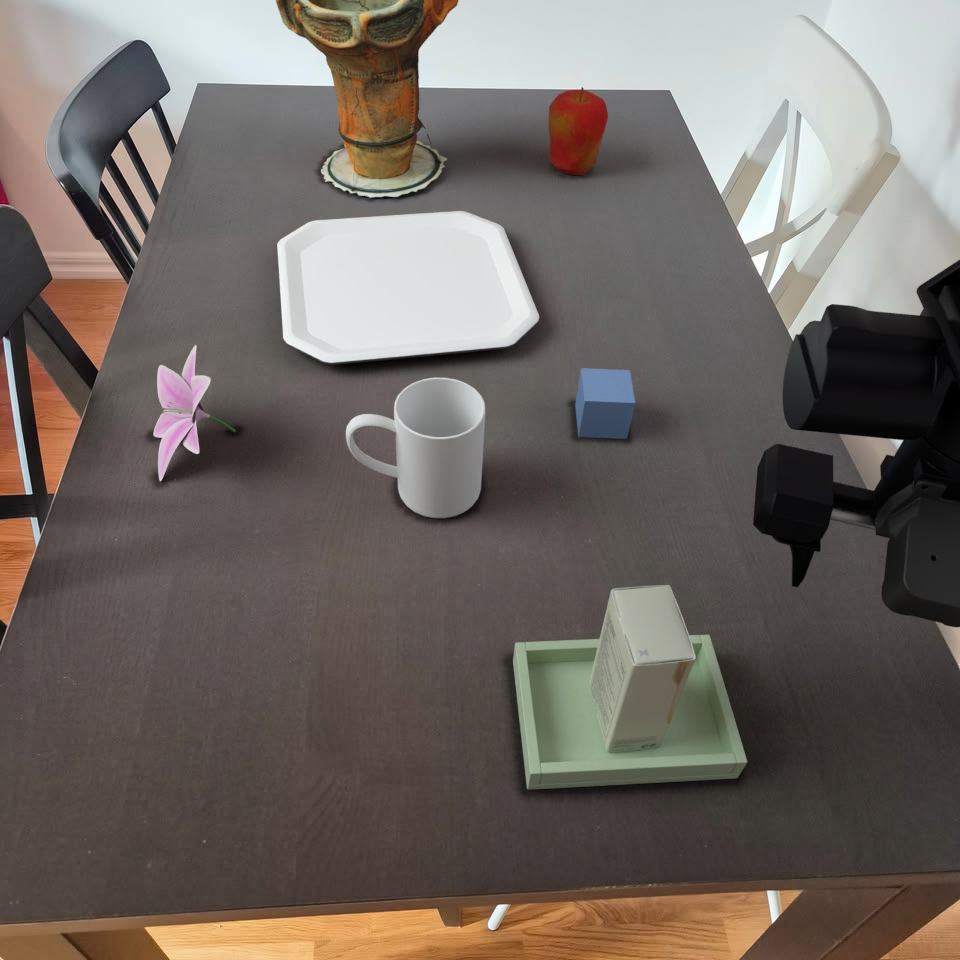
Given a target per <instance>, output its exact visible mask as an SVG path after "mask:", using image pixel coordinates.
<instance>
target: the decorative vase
mask: <svg viewBox="0 0 960 960" xmlns="http://www.w3.org/2000/svg"><path fill="white" fill-rule="evenodd" d="M275 3H276V6H277V9H278V12H279V15H280V18H281V21H282V23H283V25H284V26H285V27H286V28H287V29H288V30H290V31H291V32H293V33H295V35H297V36H299V37H301V38H304V39H306V40H307V41H308V42H309V43H310V44H311V45H312V46H313V47H315V48H316V50H317V51H319V52H320V53H322V54H323V55H324V56H325V61H326V64H327V66H328V68H329V70H330V73H331V76H332V80H333V86H334V91H335V93H336V94H335V95H336V99H337V109H338V118H339V123H338V129H337V130H338V133H339V135H340V137H341V140H342V142H343V146H344V147H343V148H340V149H338V150H334V151H333V153H332V155H331V156H330V157H328V158H327V159H326V161H325V162H323V165H322V168H321V169H320V172H321V175H323V179H324V183H325V182H326V183H327V182H331V183H332V185H334V188H339V189H340V190H342V191H343V192H346V191H348V192H349V194H357V195H358V196H361V197H362V196H363V197H364V196H365V197H368V198H370V199H371V198H383V197H390V198H391V197H392V198H398V197H400V196H402V195H406V194H409V193H411V192H415V193H417V192H418V190H422V189H426V187H427V186H428V185H429V184H430V183H431V182H432V181H435V180H436V179H438V178H439V176H440V174H441V173H442V172H443V171H442V169H443V168H445V167H446V165H444V163H445V162H446V161H448V160H449V159H448V158H446V156H445V157H444V156H443V155H440V154H439V151H438V149H435V148H431V146H432V142H431V139H430V136H429V134H428V133H427V134H426V137H427V139H428V140H429V143H430V145H429V144H424V143H423V142H421V141H419V140H418V133H419V132H420V130H421V129H423V128H424V130H427V128H426V127H425V125H424V124H423V122H422V121H421V119H420V118H419V113H420V86H419V85H420V81H419V79H420V73H419V62H420V59H419V58H420V57H419V51H420V49H421V48H422V46H423V45H424V44H425V42H426V41H427V40H428V39H429V37H431V35H432V34H433V33H434V32H435V30H436V29H437V28H438V27H440V26H441V25H442V24H443V23H444V21H445V20H446V18H447V16H448V15H449V13H450V12H451V11H452V10H454V9H455V8H456V7H457V6H458V4H459V0H275Z"/></svg>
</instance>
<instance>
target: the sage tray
mask: <svg viewBox="0 0 960 960" xmlns="http://www.w3.org/2000/svg"><path fill="white" fill-rule="evenodd" d="M689 636H690V639H691V642H692V646H693V649H694V653H695V656H696V660H695V662H694V664H693V666H692V669H691V671H690V674H689V676H688V679H687V681H686V684H685V686H684V689H683V692H682V694H681V697H680V699H679V701H678V704H677V707H676V709H675V712H674V714H673V716H672V719H671V722H670V724H669V727H668V729H667V732H666V734H665V737H664V739H663V742H662V744H661V746H660V747H656V748H650V749H642V750H633V751H622V752H607V751H606V748H605V744H604V741H603V738H602V734H601V730H600V727H599V723H598V719H597V715H596V711H595V707H594V703H593V699H592V694H591V689H590V685H589V681H590V676H591V672H592V668H593V664H594V660H595V656H596V652H597V647H598V643H599V639H600V638H590V639H588V638H587V639H566V640H563V639H561V640H541V641H539V640H538V641H517V642H515V643H514V649H513V656H512V666H513V675H514V683H515V693H516V702H517V711H518V719H519V720H518V721H519V729H520V730H519V731H520V738H521V747H522V755H523V764H524V765H523V766H524V775H525V784H526V789H527V790H529V791H530V790H549V789H566V788H568V789H569V788H582V787H584V788H585V787H586V788H587V787H601V786H602V787H603V786H622V785H637V784H641V785H642V784H656V783H675V782H694V781H696V782H697V781H713V780H714V781H715V780H729V779H731V780H733V779H738V778H739V776H740V775H741V773H742V772H743V770H744V768H745V767H746V765H747V764H748V759H747V756H746V752H745V749H744V746H743V742H742V738H741V736H740V731H739V729H738V725H737V721H736V719H735V715H734V712H733V709H732V705H731V702H730V699H729V695H728V691H727V689H726V686H725V682H724V679H723V675H722V672H721V667H720V664H719V662H718V658H717V655H716V651H715V647H714V645H713V642H712V639H711V635H710V634H689Z"/></svg>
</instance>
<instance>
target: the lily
mask: <svg viewBox="0 0 960 960" xmlns="http://www.w3.org/2000/svg"><path fill="white" fill-rule="evenodd" d="M196 358H197V344H194V346H193V347H192V349H191V350H190V353H189V354H188V356H187V358H186V361H185V364H184V365H183V368H182V372H181V376H180V374H178V373H177V372H175V371H174V370H172V369H170V368H169V367H167V366H166V365H164V364H159V366H158V367H157V368H158V369H157V374H156V386H157V396H158V400H159V403H160V405H161V408H162V410H163V411H162V412H160V416H159V418H158V420H157V421H156V423H155V426H154V428H153V437H155V438H159V439H160V438H161V440H160V443H159V448H158V457H157V473H158V479H159V482H162V481H163V478H164V476H165V473H166V471H167V468H168V467H169V463H170V461H171V459H172V457H173V455H174V453H175V451H176V450H177V448H178V446H180V444H181V442H182V445H183V446H184V448H185V449H187V450H188V451H190V452H192V453H193V454H196V455H198V454H200V444H199V437H198V428H197V427H198V426H197V424H198V423H199V422H200V421H201V420H203V419H209V420H212V421H214V422H215V423H219V424H220V425H222V426H223V427H225V428H226V429H228V430H229V431H230V432H232V433H236V432H237V430H236V429H235V428H233V427H232V426H230V425H229V424H227V423H226V422H225V421H223V420H222V419H219V418H217V417H215V416H213V415H211V414H209V413H206V412H205V410H204V408H203V406H202V404H201V400H202V398H203V396H204V394H205V393H206V392H207V389H208V388H209V387H210V385H211V382H212V379H211V377H210V376H208V375H201V374H198V375H195V374H196Z"/></svg>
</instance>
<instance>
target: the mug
mask: <svg viewBox="0 0 960 960" xmlns="http://www.w3.org/2000/svg"><path fill="white" fill-rule="evenodd" d="M393 417H394V419H393V418H390V417H388V416H385V415H382V414H381V415H380V414H376V413H375V414H373V413H362V414H359V415H356V416H354V417H353V418H352V419H350V421H349V422H348V424H347V425H346V428H345V439H346V445H347V447H348V450H349V452H350V453H351V455H352V456H353V457H354V459H355V460H357V461H358V462H359V463H360V464H361V465H363V466H365V467H366V468H368V469H370V470H372V471H374V472H377V473H379V474H381V475H384V476H388V477H392V478H396V479H397V490H398V494H399V497H400V499H401V501H402V502H403V503H404V504H405V506H406V507H407V508H408V509H410V510H411V511H413V512H414V513H416V514H418V515H420V516H422V517H426V518H431V519H448V518H453V517H457V516H459V515H461V514H463V513H465V512H466V511H468V510H470V508H472V507H473V506H474V504H475V503H476V502H477V500H479V497H480V494H481V490H482V476H483V461H484V459H483V458H484V444H485V442H484V441H485V427H486V426H485V423H486V403H485V400H484V398H483V396H482V395H481V394H480V392H479V391H478V390H477V389H476V388H474V387H473V386H471V385H470V384H469V383H466V382H463V381H461V380H459V379H456V378H450V377H428V378H423V379H421V380H418V381H414V382H412V383H410V384H409V385H407V386H406V387H404V388H403V389H402V390H401V391H400V392H399V394H398V395H397V396H396V398H395V401H394V407H393ZM364 427H378V428H381V429H385V430H388V431H390V432H393V433H394V434H395V435H394V436H395V437H394V438H395V451H396V452H395V454H396V455H395V456H396V465H393V464H390V463H389V464H388V463H386V462H383V461H380V460H378V459H375V458H373V457H372V456H370V455H368V454H366V453H365V452H364V451H362V450H361V448H359V447H358V445H357V444H356V441H355V439H354V433H355V432H356V431H357V430H358V429H360V428H364Z"/></svg>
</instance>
